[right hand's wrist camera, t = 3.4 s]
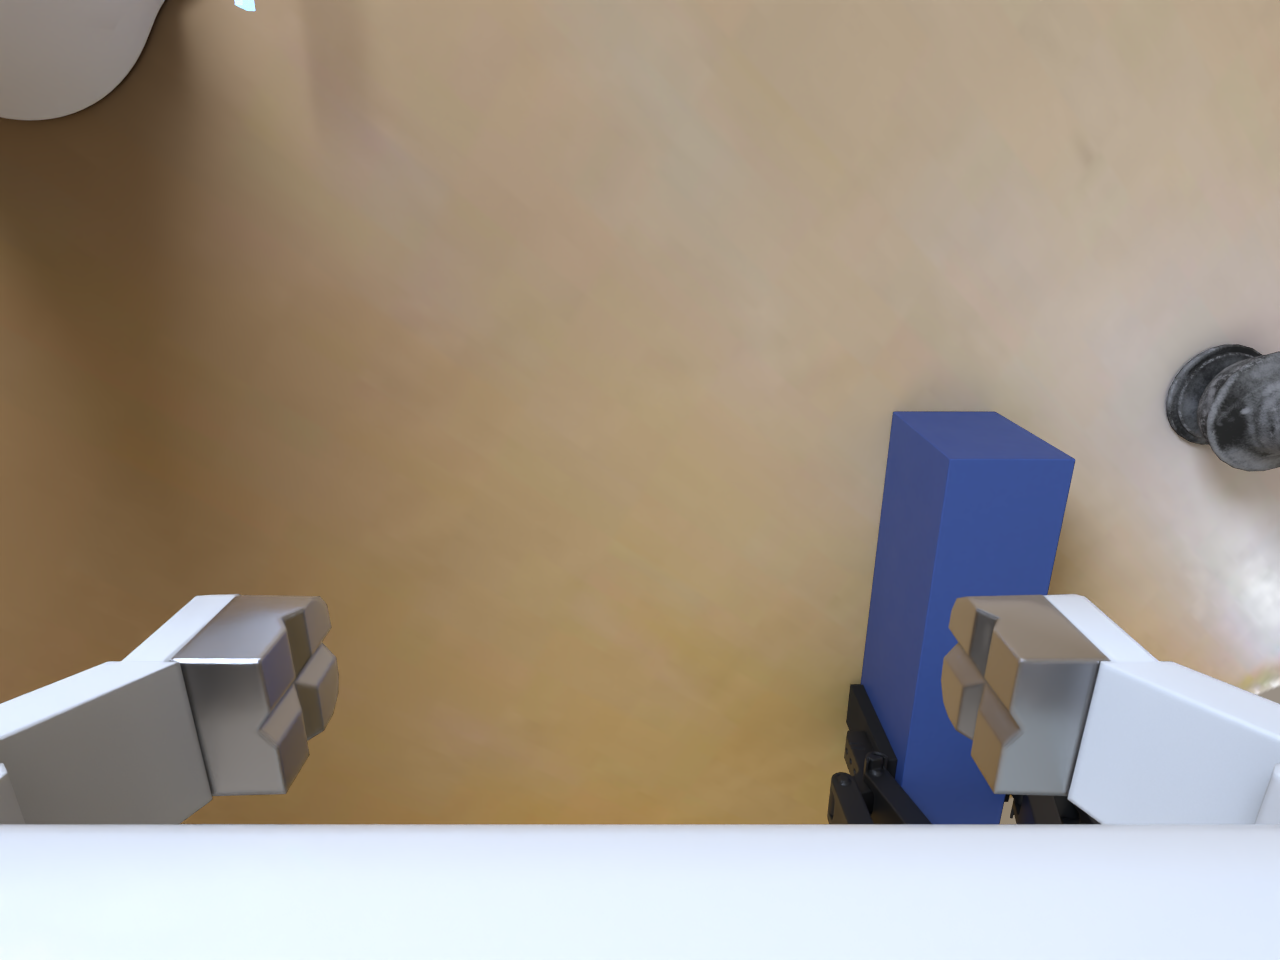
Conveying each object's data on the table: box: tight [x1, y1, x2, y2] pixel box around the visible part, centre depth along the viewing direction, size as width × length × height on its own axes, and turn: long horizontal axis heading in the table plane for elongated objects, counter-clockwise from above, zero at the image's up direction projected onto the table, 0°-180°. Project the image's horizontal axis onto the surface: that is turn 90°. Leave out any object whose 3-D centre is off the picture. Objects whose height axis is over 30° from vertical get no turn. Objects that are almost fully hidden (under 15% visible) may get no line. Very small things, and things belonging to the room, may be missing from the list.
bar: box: [861, 412, 1075, 824], centre depth 40 cm, size 22×5×8 cm, turn 0°
